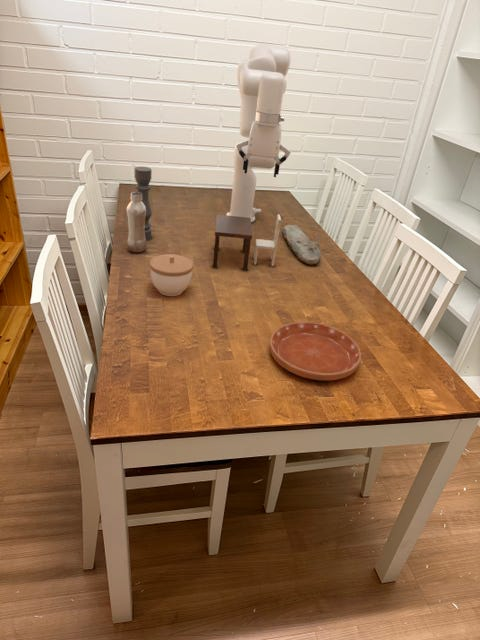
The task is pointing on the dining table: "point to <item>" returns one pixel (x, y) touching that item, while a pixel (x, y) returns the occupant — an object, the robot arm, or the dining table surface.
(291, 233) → the long grey stone
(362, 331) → the dining table surface
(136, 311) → the dining table surface
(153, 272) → the lidded bowl
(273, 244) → the chair
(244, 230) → the toy table
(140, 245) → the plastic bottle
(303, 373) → the saucer
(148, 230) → the candle holder
